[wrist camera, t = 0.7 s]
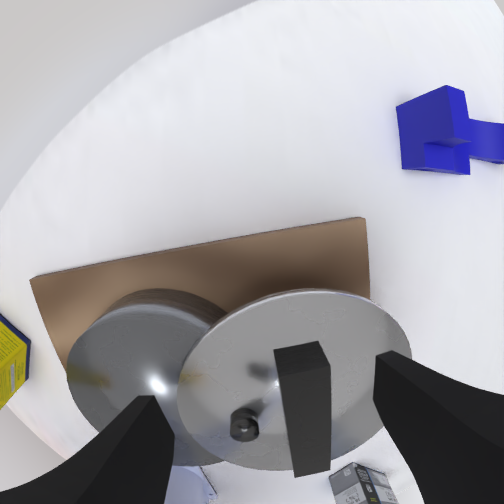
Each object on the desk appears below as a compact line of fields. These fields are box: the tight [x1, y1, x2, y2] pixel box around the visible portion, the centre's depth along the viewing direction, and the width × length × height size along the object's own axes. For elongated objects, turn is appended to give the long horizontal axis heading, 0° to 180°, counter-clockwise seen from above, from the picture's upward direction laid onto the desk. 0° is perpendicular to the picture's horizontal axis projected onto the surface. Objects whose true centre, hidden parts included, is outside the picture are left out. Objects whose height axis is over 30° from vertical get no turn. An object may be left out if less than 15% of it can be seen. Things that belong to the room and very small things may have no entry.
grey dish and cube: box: [66, 288, 228, 467], centre depth 16 cm, size 12×18×4 cm, turn 100°
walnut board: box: [29, 217, 370, 371], centre depth 18 cm, size 16×24×1 cm, turn 100°
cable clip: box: [396, 85, 504, 175], centre depth 14 cm, size 12×4×6 cm, turn 93°
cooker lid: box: [177, 288, 412, 478], centre depth 12 cm, size 13×13×3 cm
